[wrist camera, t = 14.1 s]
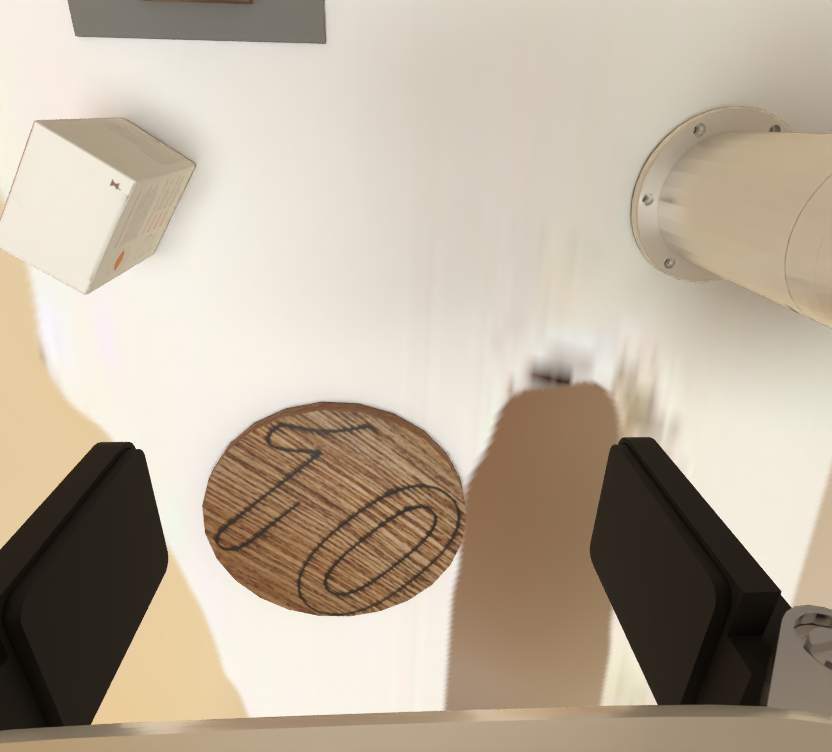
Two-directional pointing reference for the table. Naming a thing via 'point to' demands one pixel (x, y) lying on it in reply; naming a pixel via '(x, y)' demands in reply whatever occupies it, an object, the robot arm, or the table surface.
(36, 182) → the small box
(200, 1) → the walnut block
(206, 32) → the slate mat
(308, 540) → the trivet
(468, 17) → the table surface
